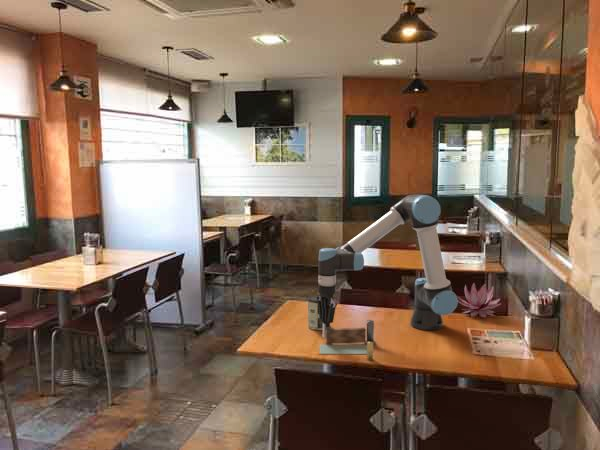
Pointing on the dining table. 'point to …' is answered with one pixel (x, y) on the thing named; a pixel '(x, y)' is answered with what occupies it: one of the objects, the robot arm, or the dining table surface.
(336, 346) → the mat
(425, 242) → the robot arm
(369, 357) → the post
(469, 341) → the dining table surface
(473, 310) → the decorative flower
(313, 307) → the coffee can
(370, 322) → the hinge post
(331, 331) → the gate
